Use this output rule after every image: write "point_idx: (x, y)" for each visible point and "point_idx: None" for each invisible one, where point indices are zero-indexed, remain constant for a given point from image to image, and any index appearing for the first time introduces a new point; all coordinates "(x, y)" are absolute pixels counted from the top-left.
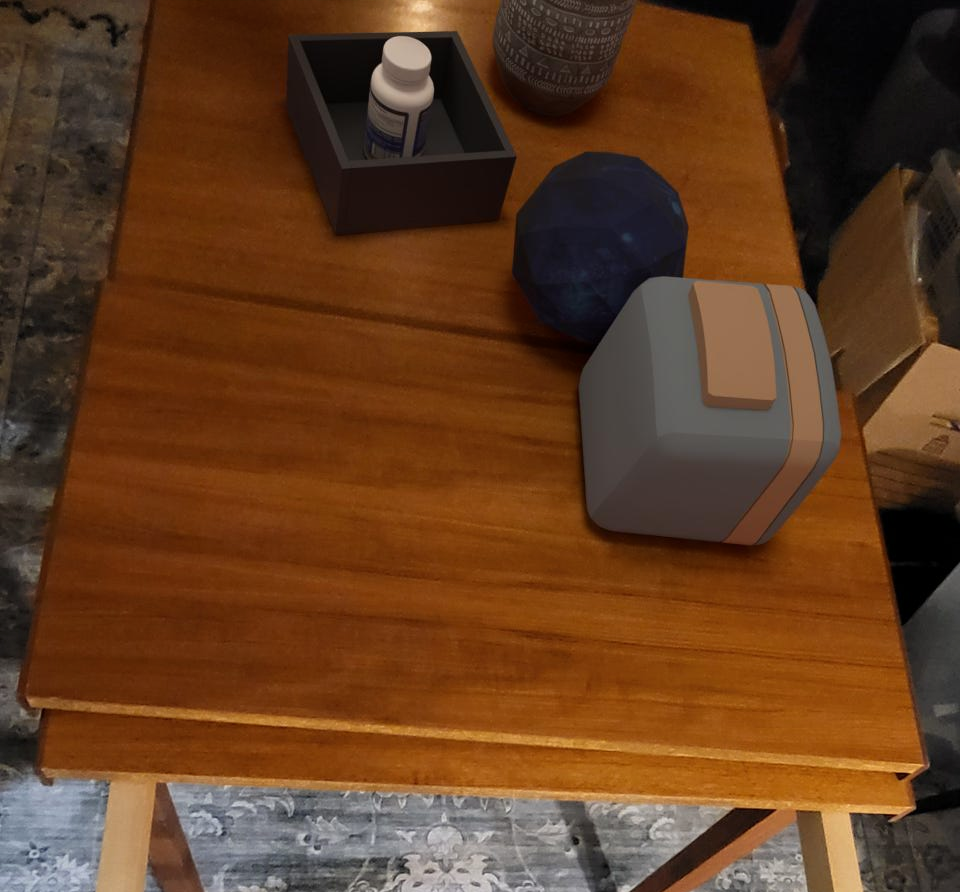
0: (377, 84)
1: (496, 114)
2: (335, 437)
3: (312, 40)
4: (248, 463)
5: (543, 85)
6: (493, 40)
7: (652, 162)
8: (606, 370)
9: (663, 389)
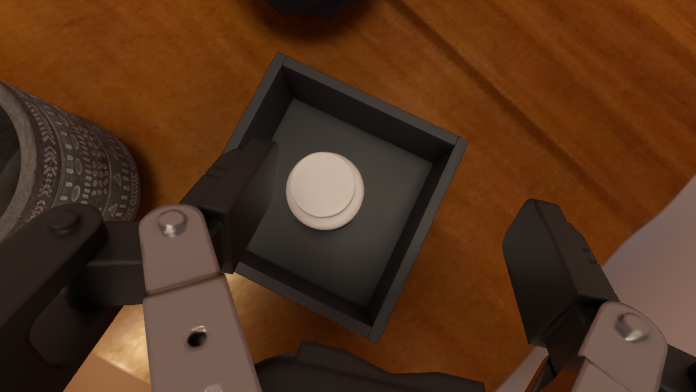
0: (360, 200)
1: (246, 109)
2: (581, 7)
3: (357, 320)
4: (652, 28)
5: (126, 151)
6: None
7: (83, 57)
8: None
9: None
